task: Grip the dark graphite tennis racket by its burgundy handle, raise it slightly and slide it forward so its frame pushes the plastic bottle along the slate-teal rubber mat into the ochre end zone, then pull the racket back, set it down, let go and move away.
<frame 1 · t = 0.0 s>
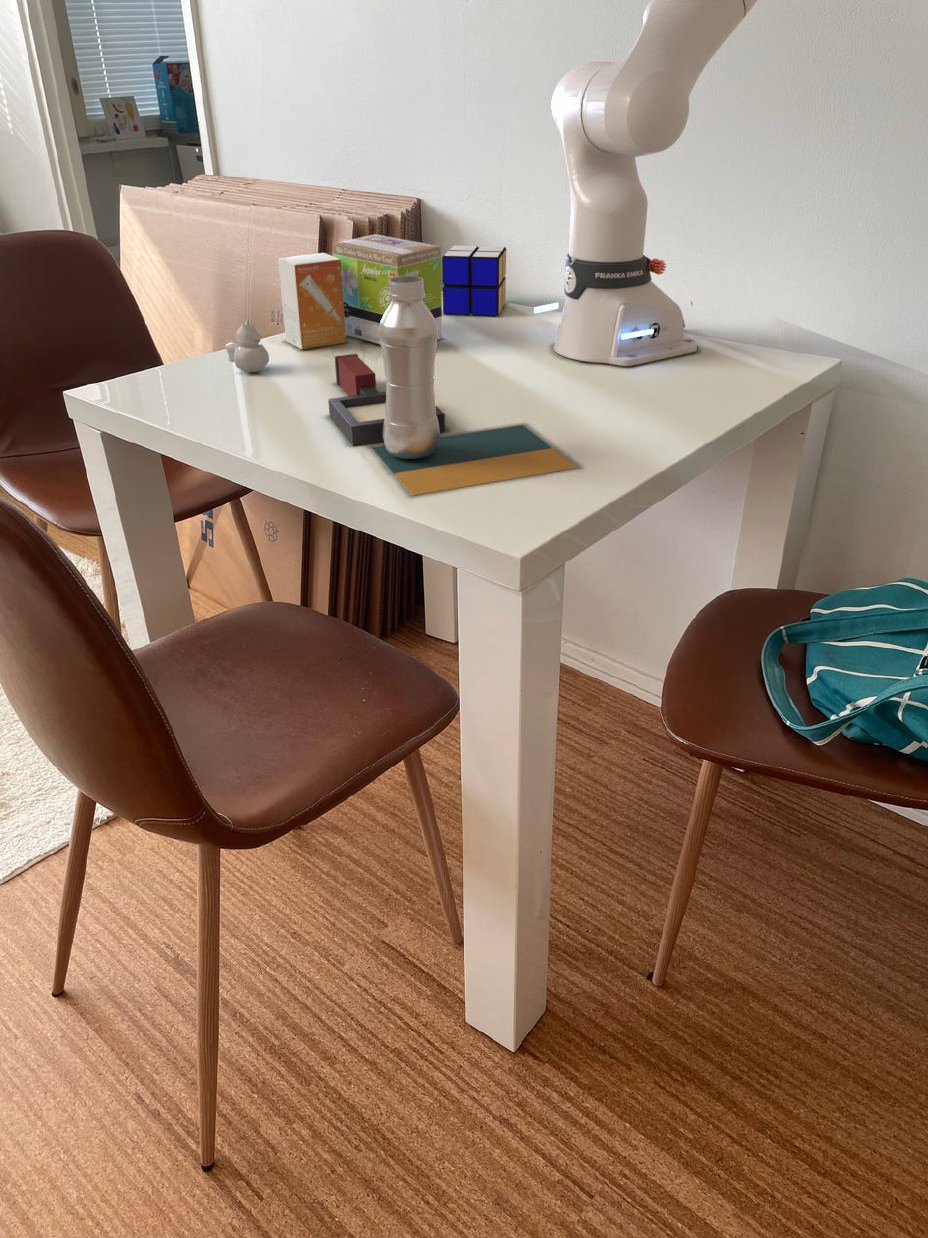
small box: (316, 343, 152), on the table
mat: (472, 457, 110), on the table
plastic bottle: (412, 456, 110), on the table, touching mat
puzzle cube: (474, 310, 169), on the table
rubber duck: (249, 371, 139), on the table
tea box: (390, 338, 154), on the table
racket: (367, 403, 126), on the table
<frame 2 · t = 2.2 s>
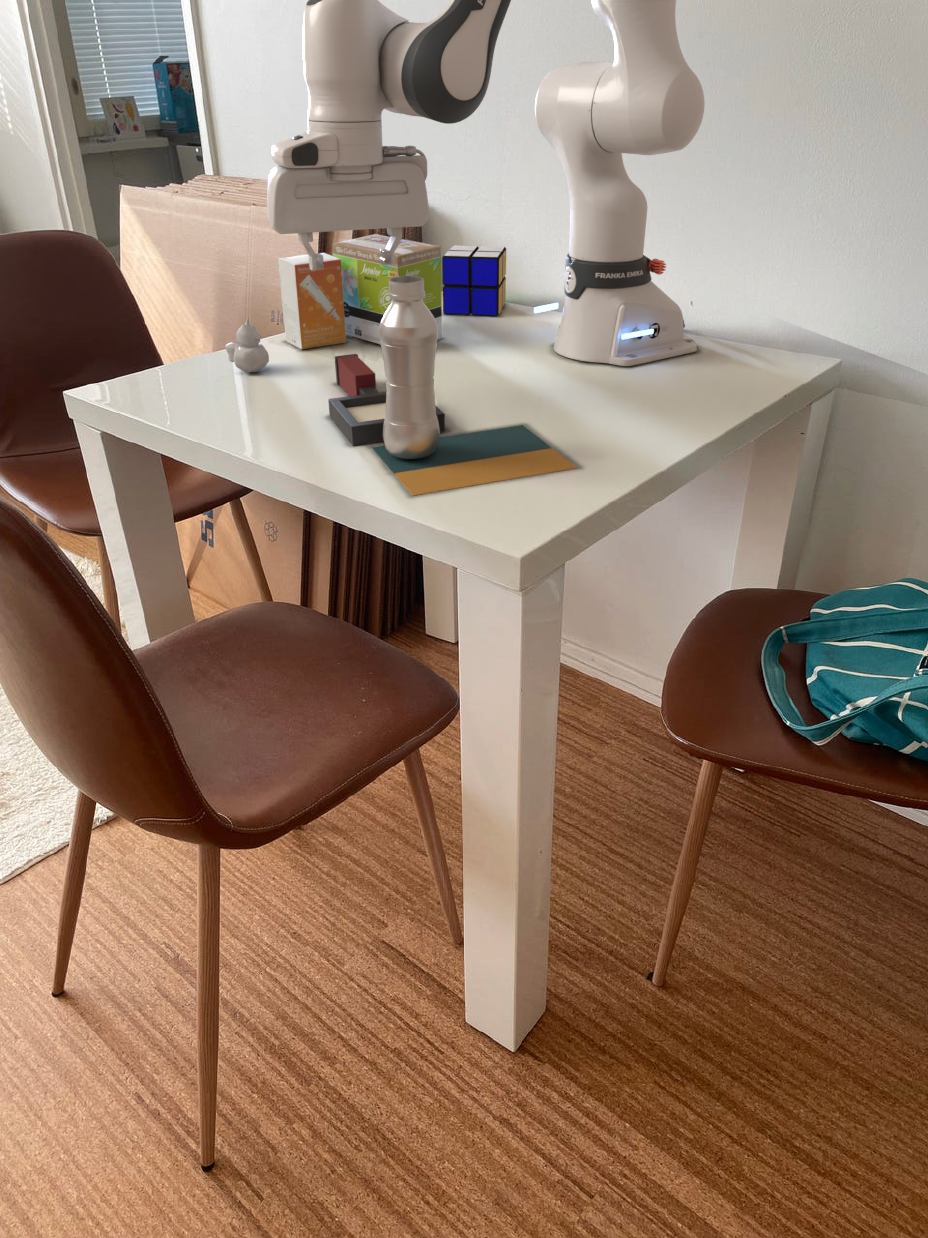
hand: (352, 266, 120), 17 cm above the table, tool pointing down, fingers open, 8 cm apart
nothing on the table moved.
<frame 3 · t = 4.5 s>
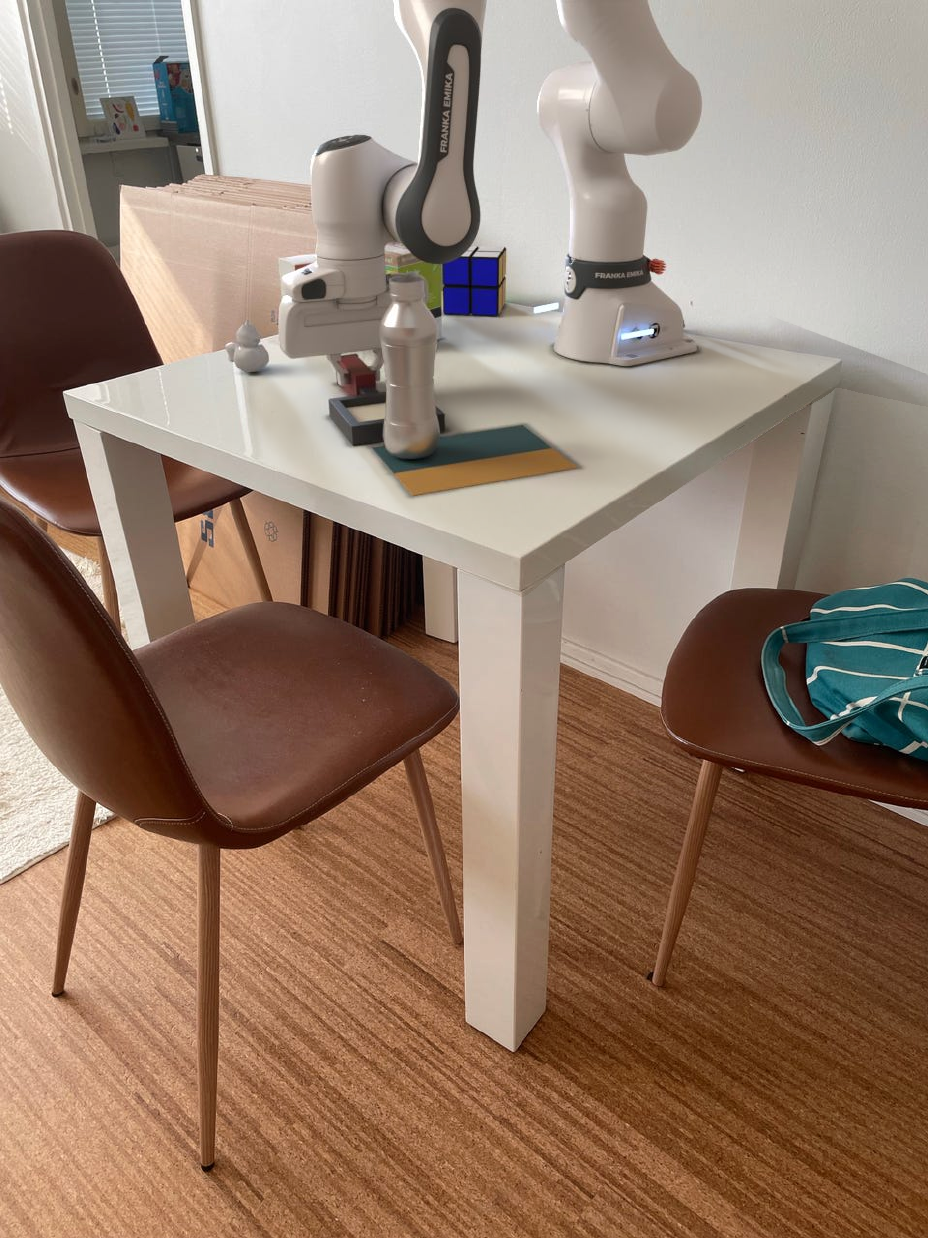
hand: (358, 382, 128), 2 cm above the table, tool pointing down, fingers closed on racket, 3 cm apart
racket: (367, 403, 126), on the table, touching gripper
everything else where it was.
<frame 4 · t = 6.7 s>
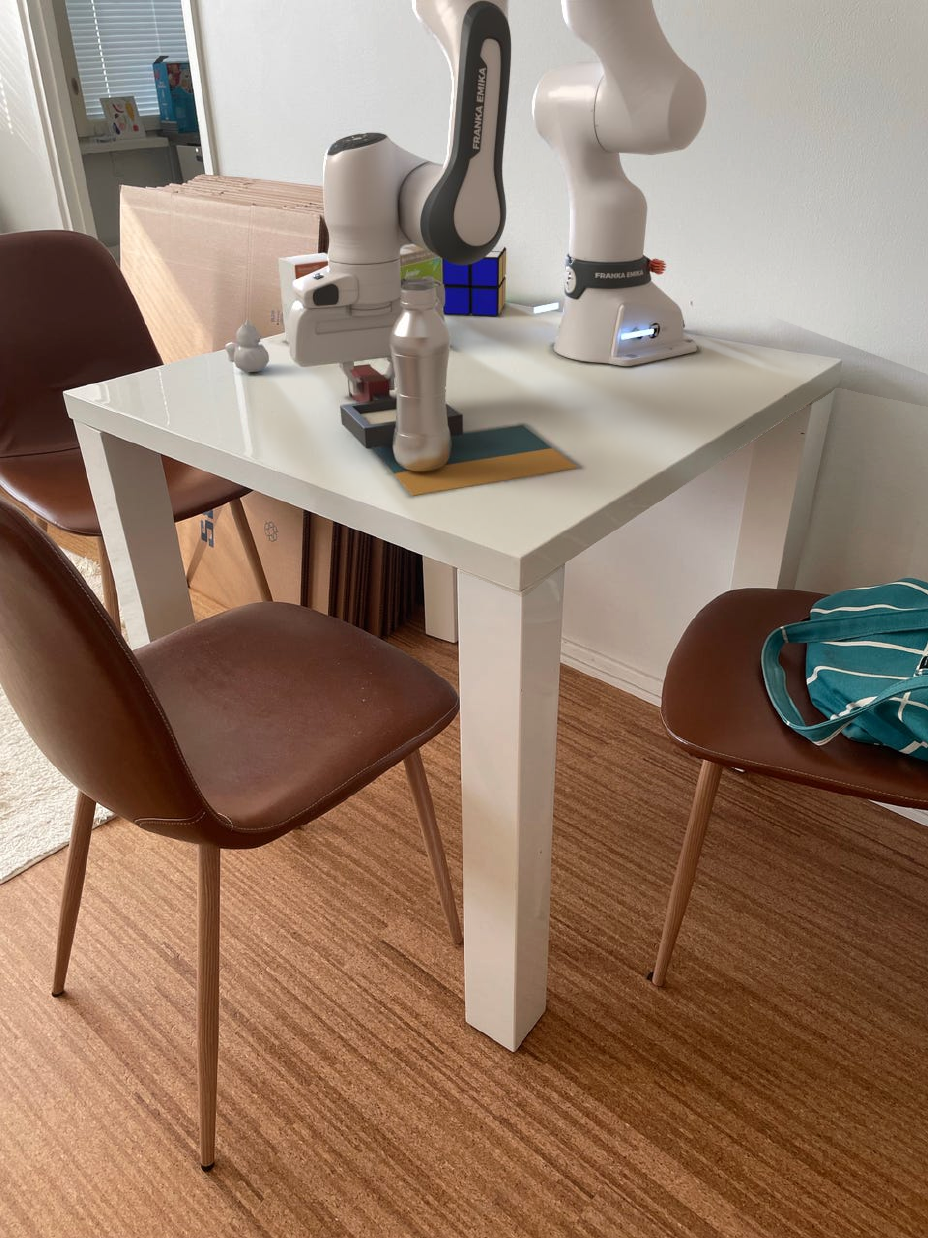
hand: (372, 391, 122), 3 cm above the table, tool pointing down, fingers closed on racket, 3 cm apart
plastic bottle: (423, 468, 107), on the table, touching mat
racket: (380, 411, 120), point 1 cm above the table, touching gripper
everything else where it was.
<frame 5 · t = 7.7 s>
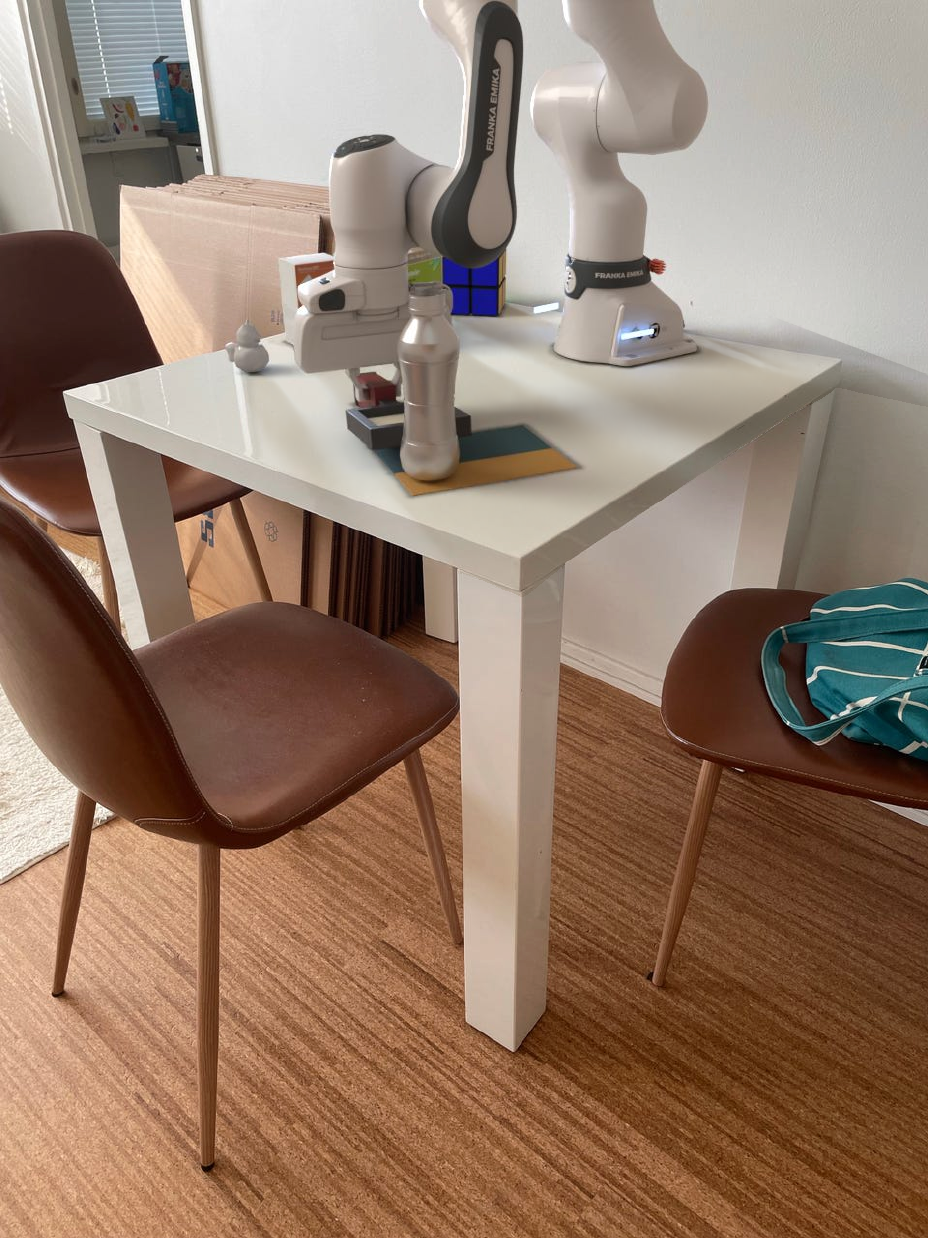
hand: (378, 397, 120), 3 cm above the table, tool pointing down, fingers closed on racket, 3 cm apart
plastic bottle: (430, 477, 105), on the table, touching mat, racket
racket: (387, 417, 118), point 1 cm above the table, tilted 7°, touching gripper, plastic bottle
everything else where it was.
when the fingers open (2 cm above the table, at t = 10.4 s): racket stays where it is, on the table.
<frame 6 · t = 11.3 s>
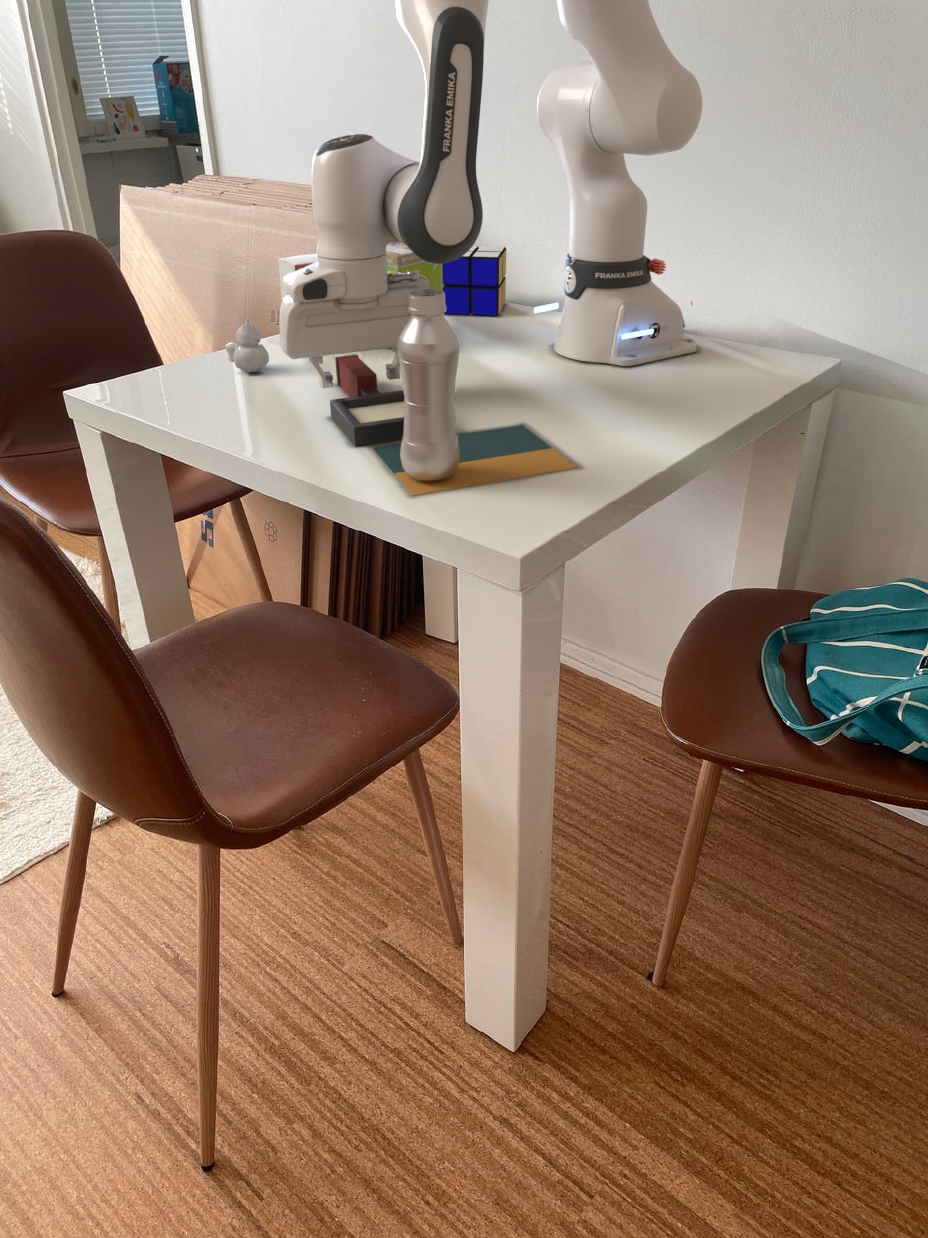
hand: (360, 382, 127), 2 cm above the table, tool pointing down, fingers open, 8 cm apart
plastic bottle: (430, 477, 105), on the table, touching mat
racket: (368, 404, 126), on the table
everything else where it was.
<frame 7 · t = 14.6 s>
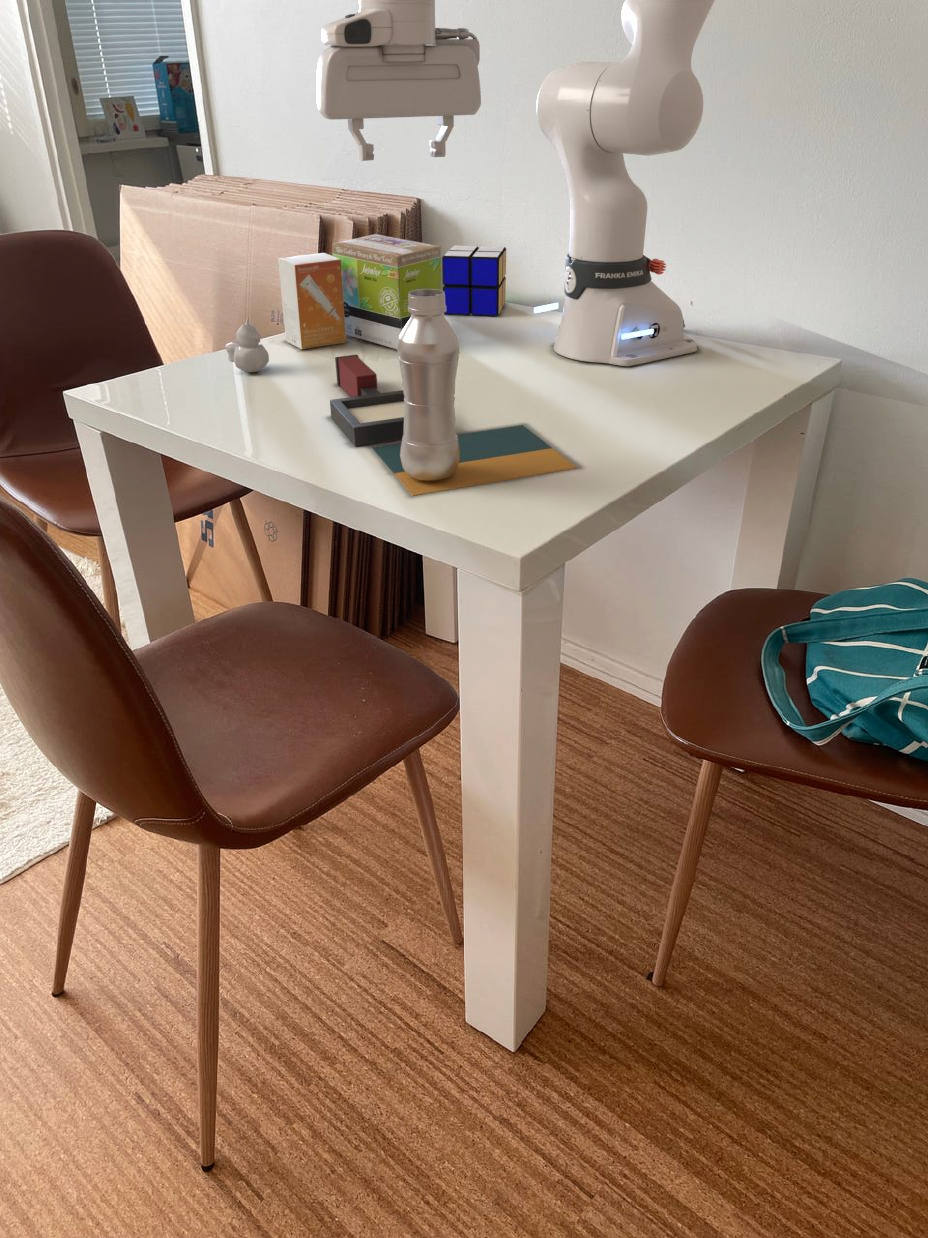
hand: (402, 158, 117), 29 cm above the table, tool pointing down, fingers open, 8 cm apart
nothing on the table moved.
at the end: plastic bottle inside the target area (1.2 cm from its centre), on the table; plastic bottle tilted 0°; the gripper is holding nothing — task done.
